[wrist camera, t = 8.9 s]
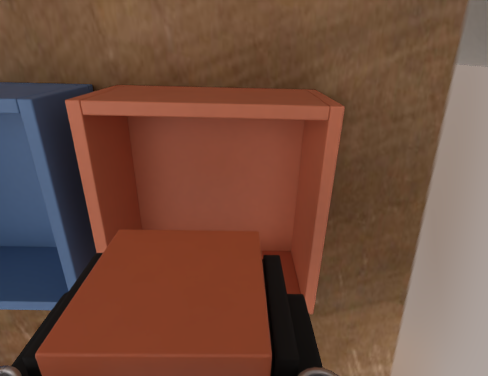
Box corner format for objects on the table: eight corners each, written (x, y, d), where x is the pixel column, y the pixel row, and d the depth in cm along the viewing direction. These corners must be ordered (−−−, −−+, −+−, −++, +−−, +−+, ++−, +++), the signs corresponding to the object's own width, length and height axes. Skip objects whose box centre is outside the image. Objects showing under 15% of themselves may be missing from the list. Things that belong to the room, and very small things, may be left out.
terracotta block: (259, 230, 10) (272, 356, 6) (254, 331, 12) (261, 481, 8) (118, 228, 10) (32, 355, 6) (135, 330, 12) (79, 482, 8)
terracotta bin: (316, 89, 17) (345, 106, 12) (297, 253, 22) (313, 314, 17) (115, 84, 17) (64, 99, 12) (139, 251, 22) (108, 311, 17)
